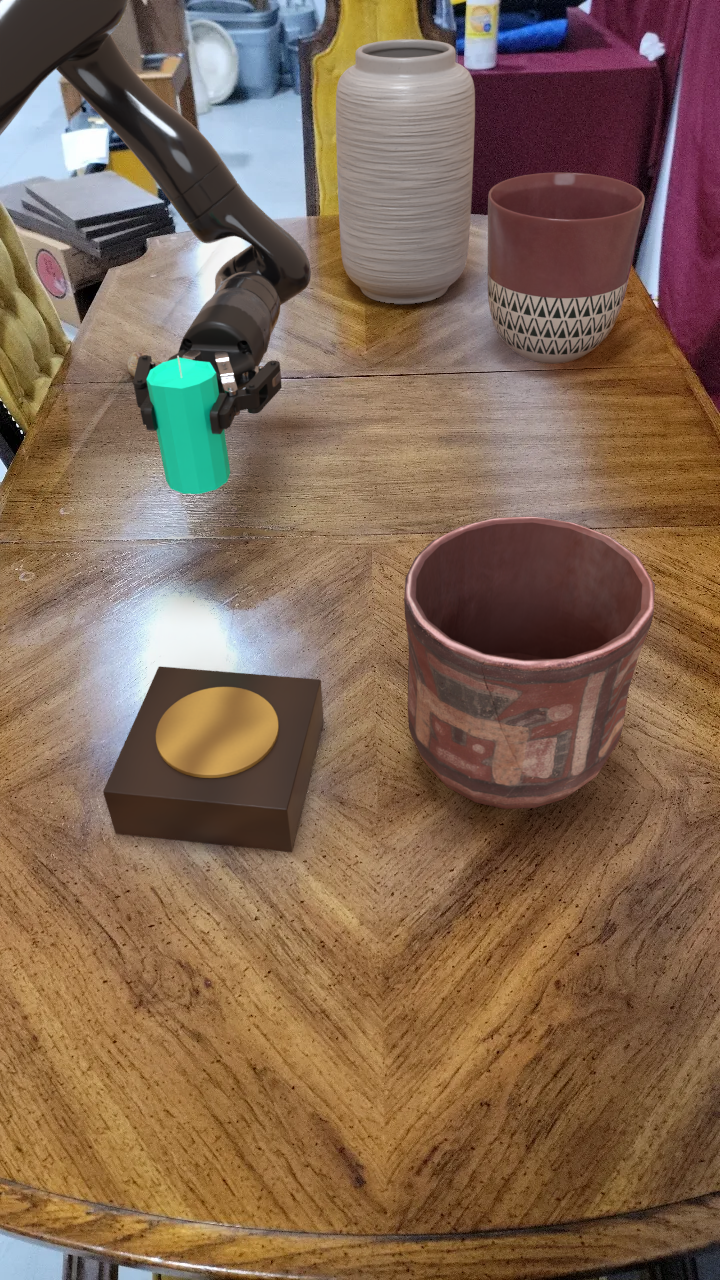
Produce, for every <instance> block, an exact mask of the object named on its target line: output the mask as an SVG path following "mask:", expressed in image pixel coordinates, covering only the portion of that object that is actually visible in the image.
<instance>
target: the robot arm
mask: <svg viewBox="0 0 720 1280" xmlns="http://www.w3.org/2000/svg"><path fill="white" fill-rule="evenodd" d="M127 6H128V0H0V136H1V135H2V134H3V133H4V132H5V130H6V129H7V128H8V127H9V126H10V124H11V123H12V122H13V120H14V119H15V118H16V117H17V115H18V114H19V112H21V110H22V108H24V106H25V105H26V103H27V102H28V101H29V99H30V98H31V97H32V95H33V94H34V93H35V92H36V90H37V89H38V88H39V87H40V85H41V84H42V83H43V82H44V81H45V80H46V79H47V78H48V77H49V76H50V75H51V74H52V73H54V71H57V72H58V73H59V74H60V75H61V76H62V77H63V78H64V79H65V80H66V81H67V82H68V83H69V85H71V86H72V87H73V89H75V90H76V91H77V93H79V95H80V96H81V97H82V98H83V99H84V100H85V101H86V102H87V103H88V104H89V106H90V107H91V108H92V109H93V110H94V111H95V112H96V113H97V114H98V115H99V116H100V117H101V119H102V120H103V121H104V122H105V123H106V124H107V125H108V126H109V127H110V128H111V130H112V131H113V132H114V133H115V134H116V135H117V136H118V137H119V138H120V139H121V140H122V142H123V143H124V144H125V145H126V147H128V149H129V150H130V151H131V152H132V153H133V155H134V156H135V157H136V158H137V160H138V161H139V162H140V163H141V165H142V166H143V167H144V168H145V169H146V171H147V173H149V174H150V176H151V177H152V179H153V180H154V181H155V182H156V184H157V185H158V187H159V188H160V190H161V191H162V193H163V194H164V195H165V196H166V198H167V199H168V201H169V202H170V203H171V205H172V206H173V208H174V209H175V210H176V213H178V215H179V217H180V218H181V219H182V220H183V222H184V223H185V224H186V225H187V227H188V228H189V230H190V231H191V232H192V234H193V235H194V236H195V238H196V239H197V240H199V242H201V243H203V244H214V243H217V242H219V241H221V240H225V239H228V238H232V237H236V238H239V239H241V240H243V241H245V242H247V243H249V244H250V245H249V246H248V247H246V248H245V249H243V250H242V251H240V252H239V253H237V254H236V255H234V256H233V257H232V258H230V259H229V260H227V261H226V262H225V263H224V264H223V265H222V266H221V267H219V270H218V271H217V272H216V274H215V277H214V285H215V286H214V287H215V288H214V294H213V295H212V296H211V297H210V298H209V299H208V300H207V301H206V302H205V304H204V305H203V306H202V307H201V309H200V310H199V312H198V314H197V315H196V317H195V318H194V320H193V321H192V323H191V325H190V326H189V328H188V329H187V330H186V332H185V334H184V335H183V337H182V339H181V342H180V345H179V348H178V350H177V351H178V352H177V353H175V354H174V355H171V356H170V357H169V358H168V360H167V361H169V360H173V359H176V358H177V356H179V357H180V358H185V359H190V360H195V361H203V362H210V363H211V365H212V367H213V368H214V370H215V372H216V376H217V383H218V390H219V396H218V398H217V400H216V402H215V403H214V405H213V407H212V409H211V411H210V423H211V430H212V434H221V433H222V431H223V429H224V430H227V429H229V428H230V427H231V426H232V424H233V422H234V419H235V418H236V417H237V416H239V415H240V414H241V412H242V411H245V410H247V413H249V414H251V415H252V414H253V415H256V414H259V413H261V411H262V410H264V408H265V407H266V406H267V405H268V404H269V402H271V400H273V398H274V397H275V396H276V395H277V394H278V392H280V390H281V389H282V387H283V386H282V374H281V363H280V361H279V360H269V361H267V362H266V363H265V364H264V365H261V362H262V360H263V358H264V356H265V354H266V353H267V352H268V348H269V345H270V341H271V336H272V334H273V331H274V330H275V328H276V326H277V323H278V321H279V318H280V314H281V306H282V305H284V304H285V303H287V302H289V301H290V300H291V299H293V298H294V297H296V296H298V295H299V294H301V293H302V292H303V291H305V289H307V288H308V287H309V284H310V281H311V277H312V271H311V263H310V259H309V257H308V255H307V253H306V252H305V250H304V248H303V247H302V245H300V243H299V242H298V241H297V240H296V239H295V238H294V236H292V235H291V234H290V233H289V232H287V231H286V230H285V229H284V228H282V226H281V225H279V224H278V223H277V222H276V221H274V220H273V219H272V218H271V217H270V216H269V215H267V213H265V212H264V210H263V209H261V208H260V207H259V206H258V205H257V204H256V202H254V201H253V199H251V198H250V197H249V196H248V194H247V193H246V192H245V191H244V190H243V188H242V186H241V185H240V183H238V180H237V179H236V178H235V176H234V175H233V173H232V172H231V170H230V169H229V167H228V166H227V165H226V163H225V161H224V160H223V159H222V157H221V156H220V155H219V153H218V151H217V150H216V149H215V148H214V146H213V145H212V143H211V142H210V141H209V140H208V139H207V138H206V137H205V136H204V134H202V132H200V130H198V128H197V127H196V126H195V125H193V124H192V123H191V122H190V121H189V120H187V119H186V118H185V117H184V116H183V115H182V114H180V113H179V112H178V111H177V110H175V109H174V108H173V107H172V106H170V105H169V104H168V103H167V102H166V101H164V100H163V99H162V98H161V97H160V96H159V95H158V94H156V93H155V91H153V90H152V89H151V88H150V87H149V86H148V85H147V84H146V83H145V82H144V81H143V79H142V78H141V77H140V76H139V75H138V73H136V72H135V71H136V70H134V69H133V68H132V66H131V64H130V63H129V62H128V61H127V59H126V58H125V56H124V54H123V53H122V51H121V49H120V47H119V46H118V44H117V43H116V41H115V39H114V37H113V35H112V34H113V32H114V31H115V30H116V29H117V28H118V27H119V25H120V24H121V22H122V19H123V17H124V15H125V13H126V10H127V9H126V8H127ZM151 357H152V356H151V355H149V354H147V355H143V356H140V357H139V358H138V363H137V367H136V371H135V375H134V376H133V380H132V384H133V390H134V394H135V401H136V406H137V407H138V408H139V410H140V411H139V412H140V416H141V421H142V425H143V426H145V427H146V428H145V429H146V430H147V431H149V432H150V431H152V432H157V431H156V430H157V428H158V426H157V421H156V416H155V411H154V405H153V404H152V402H151V401H150V395H149V390H148V385H147V380H146V379H147V377H148V375H149V372H150V370H151V369H153V368H154V367H156V366H158V365H159V364H161V363H155V362H154V361H152V359H153V357H152V358H151Z"/></svg>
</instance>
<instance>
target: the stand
mask: <svg viewBox="0 0 720 1280" xmlns="http://www.w3.org/2000/svg"><path fill="white" fill-rule="evenodd" d="M322 690H323V689H322V680H321V679H319V678H318V679H317V678H307V677H294V676H282V675H281V676H280V675H269V674H257V673H246V672H244V673H243V672H232V671H222V670H221V671H219V670H210V669H209V670H207V669H197V668H196V669H195V668H185V667H171V666H157V670H156V672H155V674H154V676H153V678H152V680H151V682H150V685H149V687H148V689H147V692H146V694H145V695H144V698H143V701H142V702H141V705H140V707H139V710H138V712H137V715H135V716H136V717H135V719H134V721H133V723H132V725H131V728H130V730H129V732H128V734H127V737H126V739H125V741H124V743H123V746H122V748H121V750H120V753H119V755H118V757H117V759H116V762H115V763H114V766H113V768H112V771H111V773H110V775H109V776H108V780H107V782H106V783H105V786H104V788H103V791H102V793H103V796H104V800H105V803H106V806H107V810H108V813H109V817H110V820H111V824H112V826H113V829H114V833H115V834H116V835H126V836H134V837H145V838H153V839H165V840H172V841H173V840H174V841H182V842H190V843H191V842H193V843H203V844H212V845H220V846H221V845H222V846H230V847H239V848H240V847H241V848H248V849H257V850H258V849H259V850H269V851H277V852H285V853H292V852H293V849H294V846H295V841H296V836H297V832H298V829H299V824H300V821H301V817H302V812H303V808H304V805H305V804H304V803H305V800H306V796H307V792H308V788H309V783H310V779H311V775H312V771H313V768H314V767H313V766H314V763H315V759H316V755H317V751H318V746H319V743H320V738H321V734H322V730H323V726H324V722H325V721H324V708H323V706H324V705H323V694H322V693H323V692H322Z"/></svg>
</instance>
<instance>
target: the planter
mask: <svg viewBox="0 0 720 1280" xmlns="http://www.w3.org/2000/svg"><path fill="white" fill-rule="evenodd" d="M487 196H488V197H487V301H488V308H489V312H490V313H489V314H490V316H491V320H492V324H493V327H494V329H495V330H496V332H497V334H498V336H499V337H500V338H501V340H502V342H504V343H505V345H506V346H507V347H508V348H509V349H510V350H512V351H513V352H514V353H516V354H517V355H518V356H520V357H522V358H523V359H526V360H529V361H532V362H535V363H539V364H544V365H545V364H546V365H547V364H548V365H558V364H565V363H569V362H573V361H576V360H578V359H580V358H582V357H584V356H586V355H588V354H589V353H590V352H592V351H594V350H595V349H596V348H597V347H598V346H599V345H601V343H602V342H603V341H605V339H607V337H608V335H609V334H610V333H611V331H612V330H613V328H614V327H615V324H616V322H617V320H618V318H619V315H620V312H621V310H622V307H623V304H624V300H625V296H626V292H627V287H628V284H629V278H630V274H631V269H632V265H633V260H634V254H635V250H636V244H637V240H638V235H639V231H640V228H641V227H640V226H641V222H642V217H643V212H644V206H645V201H646V198H645V195H644V193H643V191H641V190H640V189H639V187H637V186H635V185H632V184H630V183H628V182H625V181H623V180H620V179H617V178H613V177H609V176H604V175H597V174H591V173H584V172H583V173H582V172H541V173H533V174H525V175H520V176H516V177H511V178H508V179H506V180H503V181H500V182H498V183H497V184H495V185H494V186H492V187H491V188H490V190H489V191H488V195H487Z"/></svg>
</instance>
